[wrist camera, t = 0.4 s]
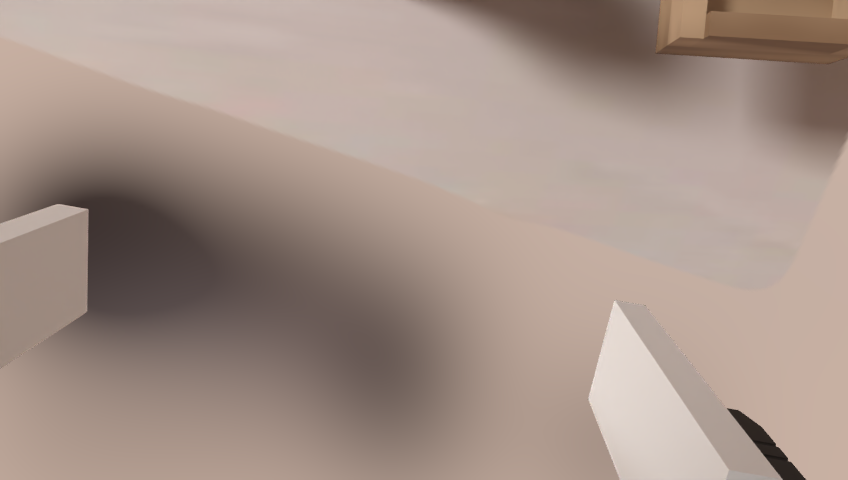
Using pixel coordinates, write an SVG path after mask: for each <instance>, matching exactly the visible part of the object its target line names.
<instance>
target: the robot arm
mask: <svg viewBox="0 0 848 480" xmlns="http://www.w3.org/2000/svg"><path fill="white" fill-rule="evenodd" d="M87 270H88V209H84V208H78V207H72V206H66V205H61V204H56V205H54V206H51V207H48V208H45V209H42V210H39V211H36V212H33V213H30V214H28V215H24V216H21V217H19V218H16V219H12V220H9V221H7V222H4V223H1V224H0V369H1V368H2V367H4V366H6V365H7V364H8V363H10V362H11V361H13V360H14V359H16V358H18V357H19V356H21V355H22V354H24V353H25V352H27V351H28V350H30V349H31V348H33V347H34V346H36V345H37V344H39V343H40V342H42V341H43V340H45V339H47V338H48V337H50V336H51V335H52V334H54V333H56V332H57V331H59V330H60V329H62V328H63V327H65V326H66V325H68V324H69V323H71V322H72V321H74V320H75V319H77V318H78V317H80V316H81V315H83V314H84V313H86V312H87V274H88V273H87V272H88V271H87ZM588 400H589V402H590V405H591V407H592V410H593V412H594V415H595V417H596V420H597V422H598V425H599V428H600V430H601V432H602V435H603V438H604V440H605V443H606V446H607V448H608V451H609V453H610V456H611V458H612V461H613V463H614V466H615V468H616V471H617V473H618V476H619V478H620V480H806V479H805V478H804V477H803V476H802V475H801V473H800V472H799V471H798V470H797V469H796V467H795V466H794V465H793V464H792V463H791V462H788V458H787V457H786V455H785V454H784V453H783V452H782V451H781V450H780V448H778V447H776V444H775V442H773V440H772V439H771V438H770V436H769V435H768V434H767V433H766V432H765V431H764V429H763V428H762V427H761V426H759V425H758V424H757V423H755V422H754V421H752V420H751V419H750V418H748V417H747V416H746V415H744V414H743V413H742V412H740V411H738V410H733V409H728V408H726V407H725V406H724V405H723V403H722V402H721V401H720V399H719V398H718V397H717V396H716V394H715V393H714V392H713V390H712V389H711V388H710V387H709V385H708V384H707V383H706V382H705V380H704V379H703V378H702V377H701V375H700V374H699V373H698V372H697V370H696V369H695V368H694V366H693V365H692V364H691V363H690V361H689V360H688V359H687V357H686V356H685V355H684V354H683V352H682V351H681V350H680V349H679V347H678V346H677V345H676V344H675V342H674V341H673V340H672V339H671V337H670V336H669V335H668V334H667V332H666V331H665V330H664V328H663V327H662V326H661V324H660V323H659V322H658V321H657V320H656V318H655V317H654V316H653V314H652V313H651V312H650V311H649V309H648V308H647V307H646V306H645V305H640V304H634V303H629V302H623V301H617V300H614V304H613V308H612V312H611V315H610V319H609V323H608V327H607V330H606V334H605V338H604V341H603V346H602V349H601V353H600V356H599V360H598V364H597V368H596V372H595V375H594V379H593V383H592V386H591V390H590V394H589V398H588Z"/></svg>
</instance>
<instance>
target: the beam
mask: <svg viewBox="0 0 848 480" xmlns="http://www.w3.org/2000/svg"><path fill="white" fill-rule="evenodd" d="M655 53H657V54H673V55H689V56H705V57H721V58H737V59H753V60H769V61H785V62H801V63H817V64H830V63H833V62H836V61H839V60H842V59H845V58H848V0H661V2H660V12H659V22H658V32H657V42H656V52H655Z"/></svg>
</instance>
